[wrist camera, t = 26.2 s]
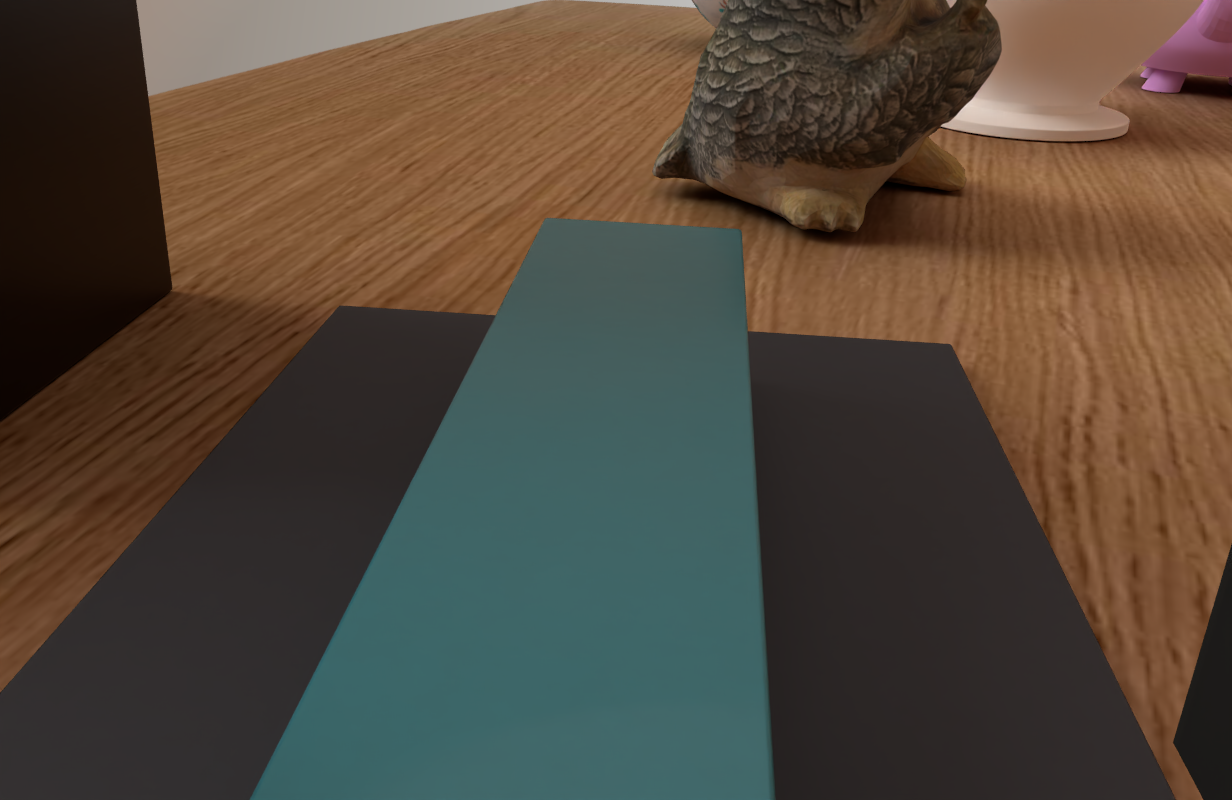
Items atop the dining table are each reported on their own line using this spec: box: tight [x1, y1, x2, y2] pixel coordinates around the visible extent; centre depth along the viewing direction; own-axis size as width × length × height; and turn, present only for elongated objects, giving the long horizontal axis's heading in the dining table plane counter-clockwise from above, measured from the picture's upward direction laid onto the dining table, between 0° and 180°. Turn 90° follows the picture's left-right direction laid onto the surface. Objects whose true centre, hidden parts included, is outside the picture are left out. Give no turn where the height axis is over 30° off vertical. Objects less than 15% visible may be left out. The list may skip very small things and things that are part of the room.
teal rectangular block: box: [250, 218, 776, 800], centre depth 20 cm, size 4×22×5 cm
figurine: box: [652, 0, 1002, 232], centre depth 46 cm, size 14×15×15 cm
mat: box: [0, 306, 1176, 800], centre depth 23 cm, size 18×26×1 cm
